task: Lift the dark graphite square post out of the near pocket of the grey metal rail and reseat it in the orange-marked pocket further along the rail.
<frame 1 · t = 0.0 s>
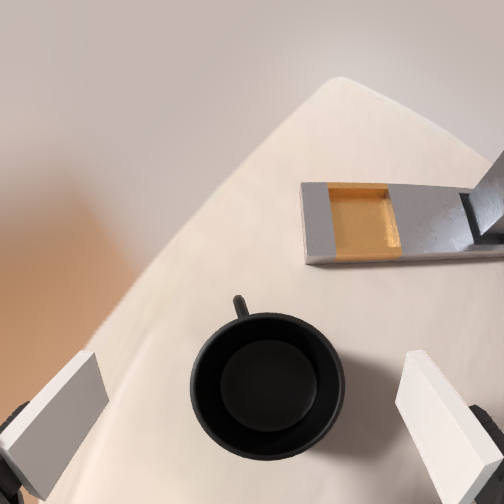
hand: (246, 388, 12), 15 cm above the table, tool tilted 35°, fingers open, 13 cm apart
graphite post: (480, 224, 30), resting on rail
mug: (264, 372, 26), on the table
rail: (426, 225, 31), on the table
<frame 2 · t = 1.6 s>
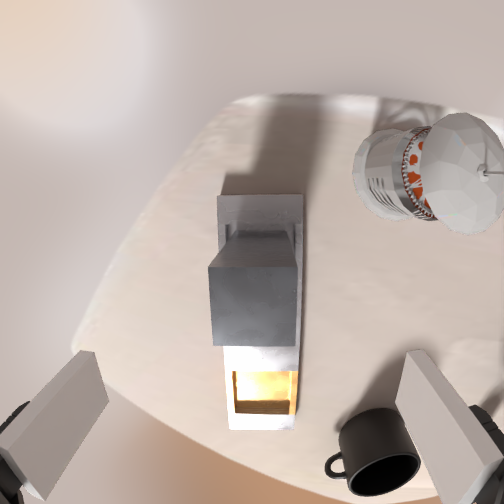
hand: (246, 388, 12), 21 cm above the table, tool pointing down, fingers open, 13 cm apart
graphite post: (261, 255, 32), resting on rail
french press: (402, 178, 30), on the table
mug: (361, 433, 37), on the table
rail: (262, 325, 34), on the table
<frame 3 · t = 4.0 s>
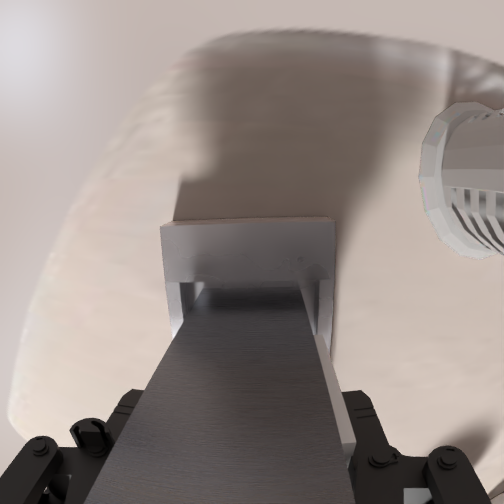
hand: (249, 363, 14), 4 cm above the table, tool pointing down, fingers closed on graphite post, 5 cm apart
graphite post: (252, 331, 17), resting on rail, touching gripper
french press: (490, 186, 15), on the table
rail: (256, 428, 19), on the table
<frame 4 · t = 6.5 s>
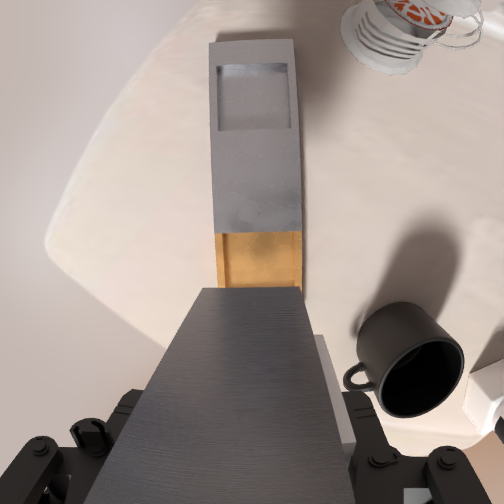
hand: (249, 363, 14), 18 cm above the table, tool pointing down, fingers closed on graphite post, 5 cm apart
graphite post: (252, 330, 17), point 15 cm above the table, touching gripper
french press: (389, 40, 26), on the table
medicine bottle: (482, 383, 34), on the table
mug: (383, 341, 33), on the table
rail: (257, 180, 30), on the table
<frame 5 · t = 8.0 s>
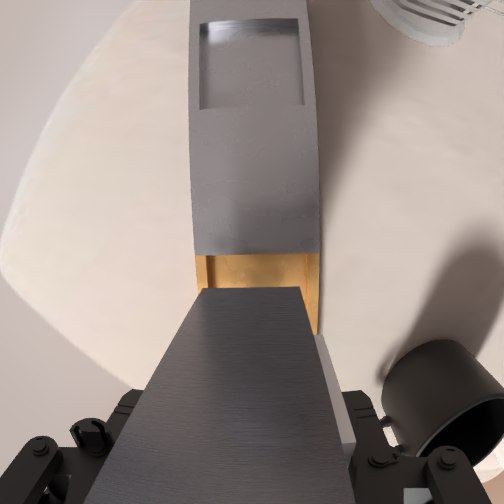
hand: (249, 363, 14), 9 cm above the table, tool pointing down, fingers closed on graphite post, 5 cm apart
graphite post: (252, 330, 17), point 6 cm above the table, touching gripper
french press: (425, 5, 17), on the table
mug: (413, 385, 24), on the table
rail: (255, 179, 21), on the table
when the fingers open (5 cm above the table, at t = 9.1 s): graphite post drops 1 cm, resting on rail.
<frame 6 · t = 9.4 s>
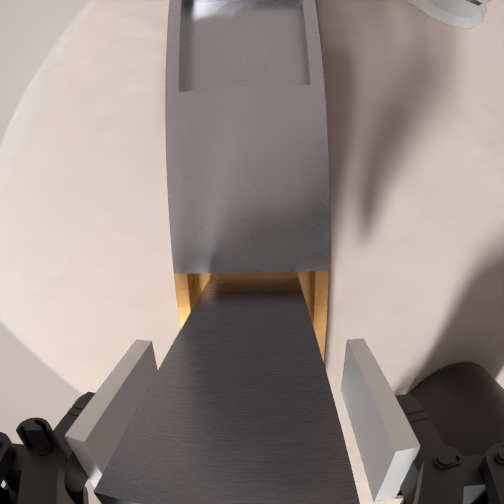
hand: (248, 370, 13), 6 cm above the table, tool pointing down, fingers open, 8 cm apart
graphite post: (255, 320, 18), point 1 cm above the table, touching rail
mug: (427, 412, 20), on the table
rail: (249, 178, 17), on the table
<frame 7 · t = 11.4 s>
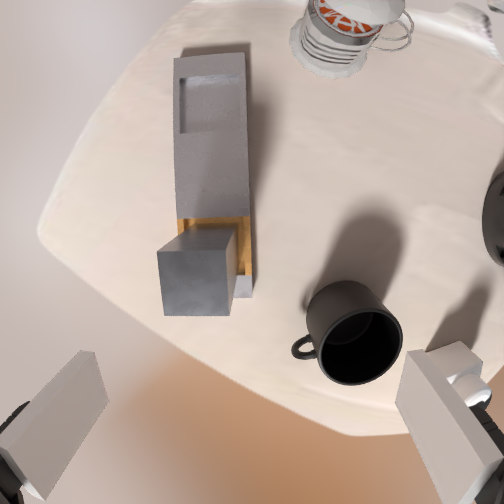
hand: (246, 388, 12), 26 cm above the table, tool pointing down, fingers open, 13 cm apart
graphite post: (216, 244, 36), point 1 cm above the table, touching rail
french press: (335, 47, 31), on the table
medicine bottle: (439, 363, 41), on the table
mug: (332, 317, 39), on the table
rail: (213, 174, 35), on the table
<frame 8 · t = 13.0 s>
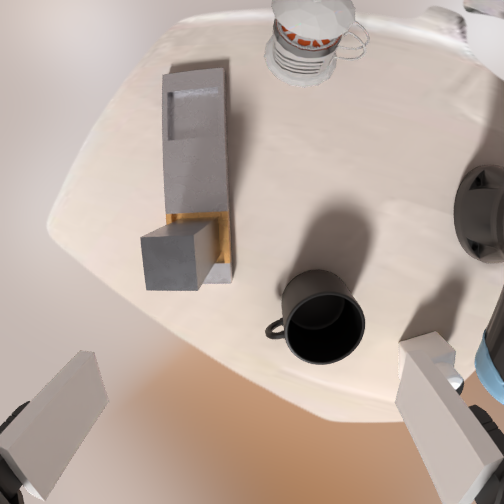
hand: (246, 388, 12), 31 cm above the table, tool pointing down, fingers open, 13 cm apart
graphite post: (200, 236, 41), point 1 cm above the table, touching rail
french press: (307, 57, 36), on the table
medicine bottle: (416, 353, 45), on the table
mug: (306, 303, 44), on the table
rail: (197, 175, 40), on the table
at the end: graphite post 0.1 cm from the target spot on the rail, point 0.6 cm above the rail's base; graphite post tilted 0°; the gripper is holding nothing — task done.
